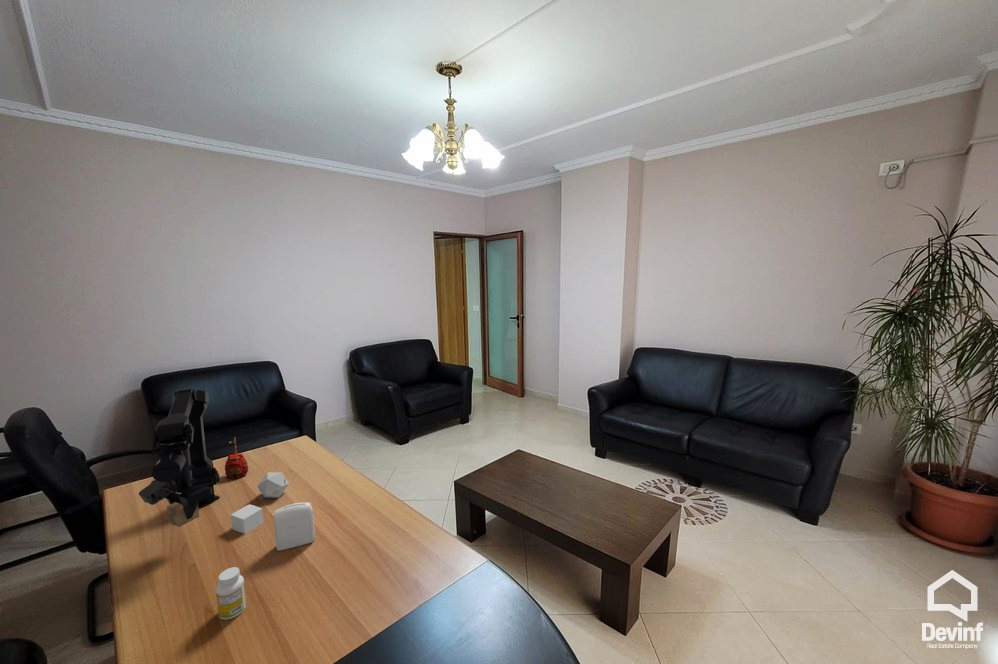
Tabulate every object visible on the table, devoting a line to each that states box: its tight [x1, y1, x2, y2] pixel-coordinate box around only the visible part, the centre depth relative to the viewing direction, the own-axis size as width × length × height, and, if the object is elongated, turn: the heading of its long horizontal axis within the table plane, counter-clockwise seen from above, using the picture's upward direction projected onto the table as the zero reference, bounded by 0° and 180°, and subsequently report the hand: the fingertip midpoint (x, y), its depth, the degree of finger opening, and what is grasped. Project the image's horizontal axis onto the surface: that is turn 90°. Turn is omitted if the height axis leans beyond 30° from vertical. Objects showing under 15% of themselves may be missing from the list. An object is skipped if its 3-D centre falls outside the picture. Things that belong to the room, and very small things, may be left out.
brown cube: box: [166, 502, 200, 528], centre depth 109 cm, size 5×5×5 cm
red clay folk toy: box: [224, 436, 249, 480], centre depth 149 cm, size 8×7×15 cm
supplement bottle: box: [215, 566, 247, 620], centre depth 89 cm, size 5×5×10 cm
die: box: [256, 471, 290, 499], centre depth 136 cm, size 8×9×10 cm
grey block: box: [230, 503, 265, 535], centre depth 119 cm, size 6×6×5 cm
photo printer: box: [272, 502, 316, 552], centre depth 111 cm, size 10×4×12 cm, turn 114°
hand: (183, 516), depth 109 cm, fingers closed on brown cube, 5 cm apart
